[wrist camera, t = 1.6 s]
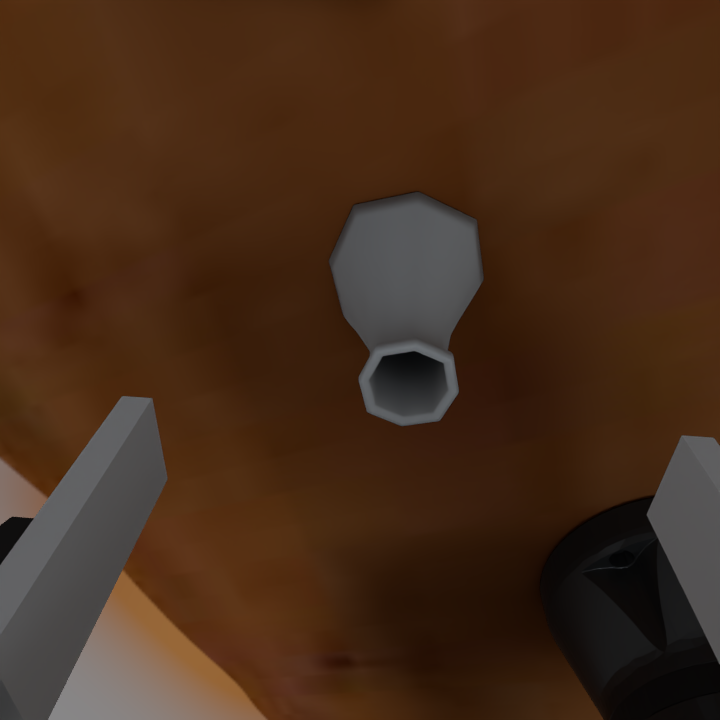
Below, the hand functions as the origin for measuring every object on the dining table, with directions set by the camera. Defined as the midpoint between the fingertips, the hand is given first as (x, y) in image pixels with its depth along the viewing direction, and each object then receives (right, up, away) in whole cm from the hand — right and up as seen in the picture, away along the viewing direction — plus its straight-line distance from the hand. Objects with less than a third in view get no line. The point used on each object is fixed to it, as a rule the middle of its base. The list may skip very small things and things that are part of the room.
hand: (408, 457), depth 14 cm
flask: (+1, +7, +12) cm, 14 cm away
